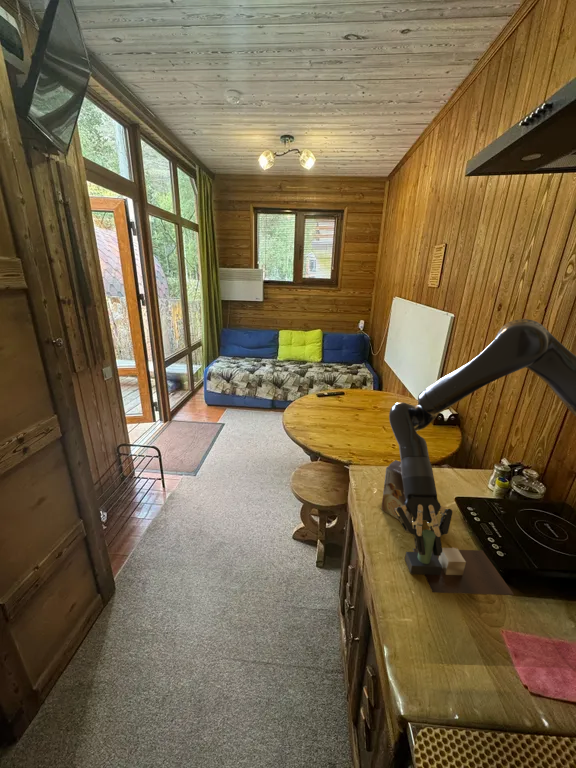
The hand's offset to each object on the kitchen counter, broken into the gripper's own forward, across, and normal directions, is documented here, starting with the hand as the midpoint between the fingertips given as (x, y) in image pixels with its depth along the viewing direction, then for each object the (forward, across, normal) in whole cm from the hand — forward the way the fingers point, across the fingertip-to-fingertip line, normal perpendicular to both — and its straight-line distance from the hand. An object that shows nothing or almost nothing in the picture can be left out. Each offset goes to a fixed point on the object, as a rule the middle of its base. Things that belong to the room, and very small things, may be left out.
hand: (429, 554), depth 70 cm
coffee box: (-10, +1, +20) cm, 23 cm away
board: (+4, +9, +6) cm, 12 cm away
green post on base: (+3, 0, +6) cm, 6 cm away
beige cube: (+3, +7, +6) cm, 9 cm away
